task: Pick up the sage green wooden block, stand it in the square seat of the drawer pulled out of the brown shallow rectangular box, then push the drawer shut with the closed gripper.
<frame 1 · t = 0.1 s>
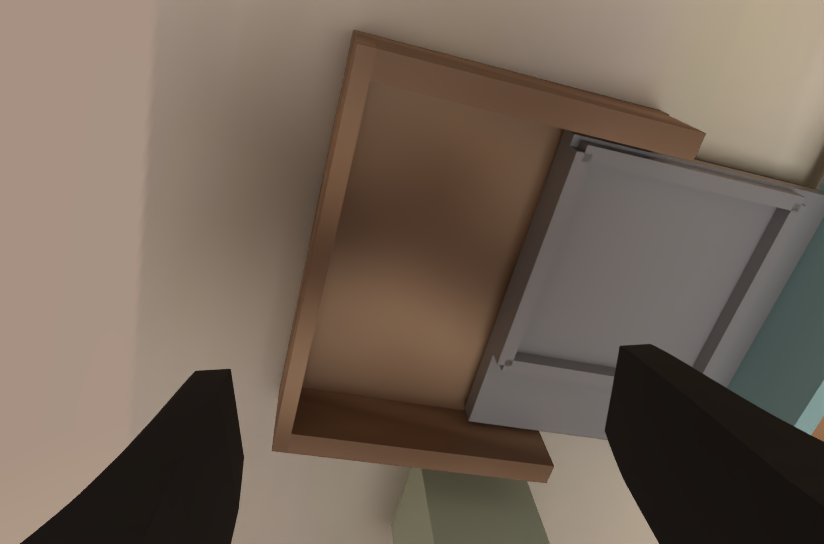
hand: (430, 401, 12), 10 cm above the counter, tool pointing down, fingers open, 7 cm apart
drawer: (683, 339, 21), point 3 cm above the counter, slide at 6.0 cm
block: (454, 492, 27), on the counter
brown shallow rectangular box: (455, 262, 22), on the counter
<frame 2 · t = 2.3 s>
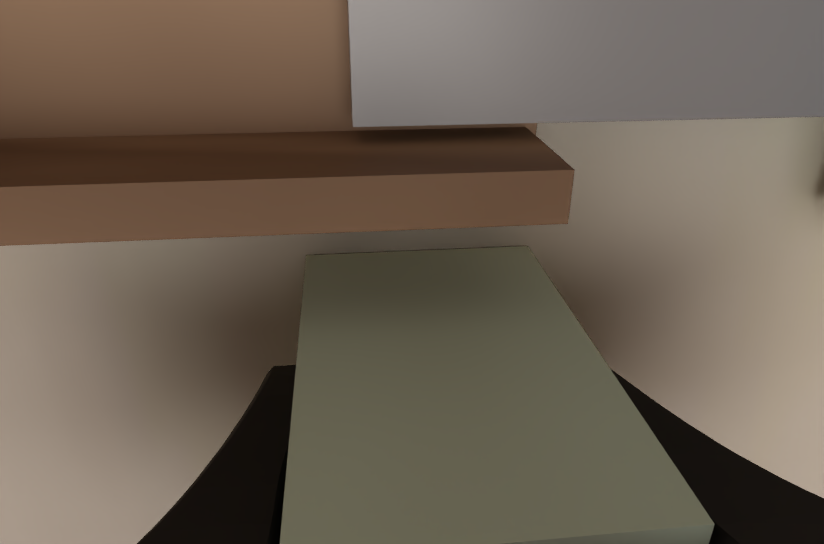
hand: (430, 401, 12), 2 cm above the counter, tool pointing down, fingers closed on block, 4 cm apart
block: (417, 344, 13), on the counter, touching gripper
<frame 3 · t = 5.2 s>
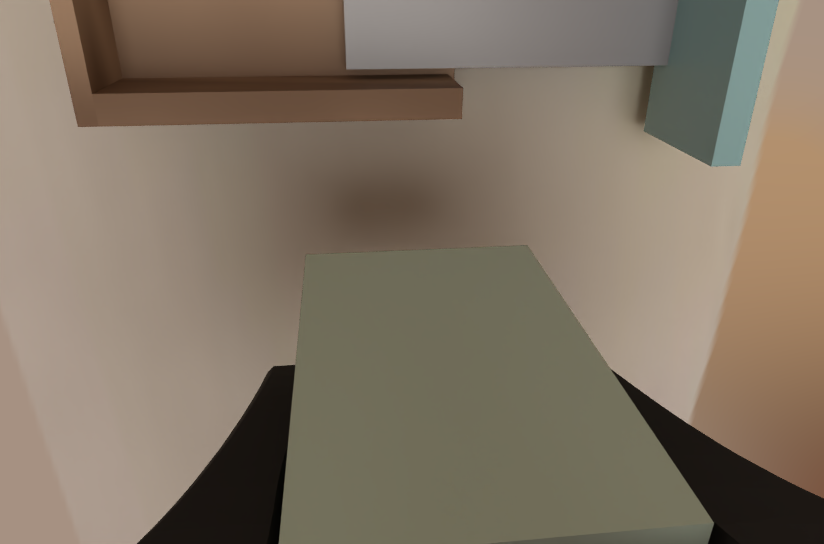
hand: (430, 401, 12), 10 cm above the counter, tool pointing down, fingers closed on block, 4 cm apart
block: (417, 343, 13), point 8 cm above the counter, touching gripper
when the fingers open (4 cm above the counter, at t = 8.3 s): block stays where it is, resting on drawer.
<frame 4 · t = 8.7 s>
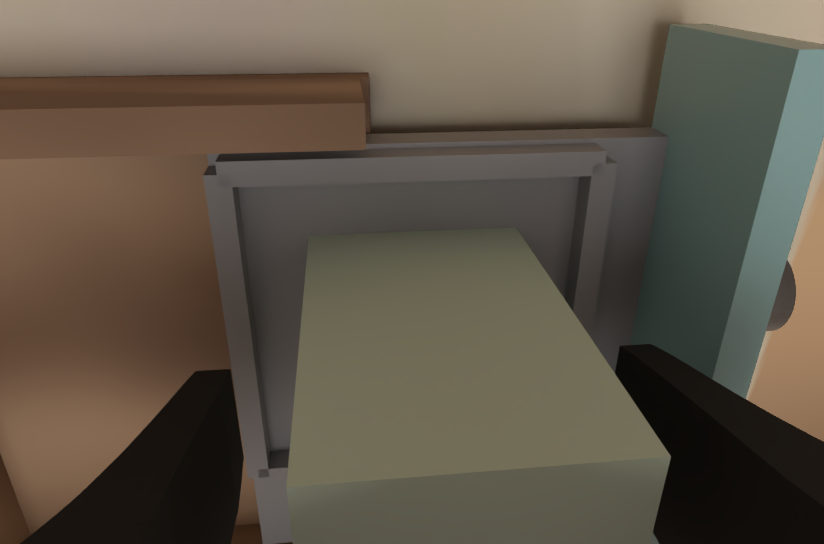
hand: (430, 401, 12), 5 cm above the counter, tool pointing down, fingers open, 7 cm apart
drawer: (492, 395, 14), point 3 cm above the counter, slide at 6.0 cm, touching block
block: (413, 320, 14), point 2 cm above the counter, touching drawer
brown shallow rectangular box: (174, 345, 16), on the counter
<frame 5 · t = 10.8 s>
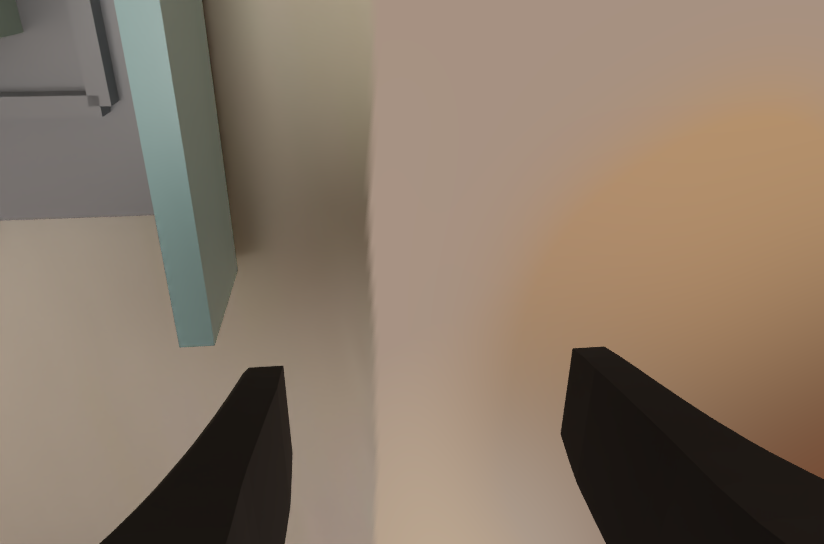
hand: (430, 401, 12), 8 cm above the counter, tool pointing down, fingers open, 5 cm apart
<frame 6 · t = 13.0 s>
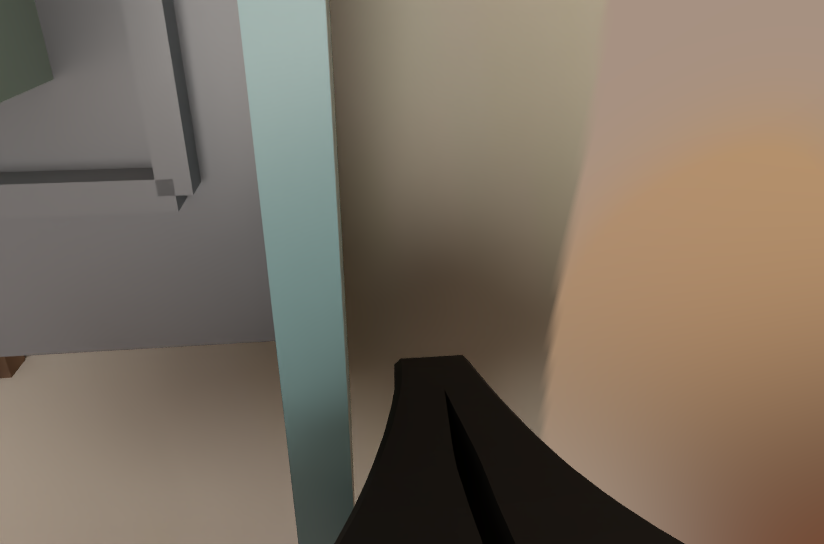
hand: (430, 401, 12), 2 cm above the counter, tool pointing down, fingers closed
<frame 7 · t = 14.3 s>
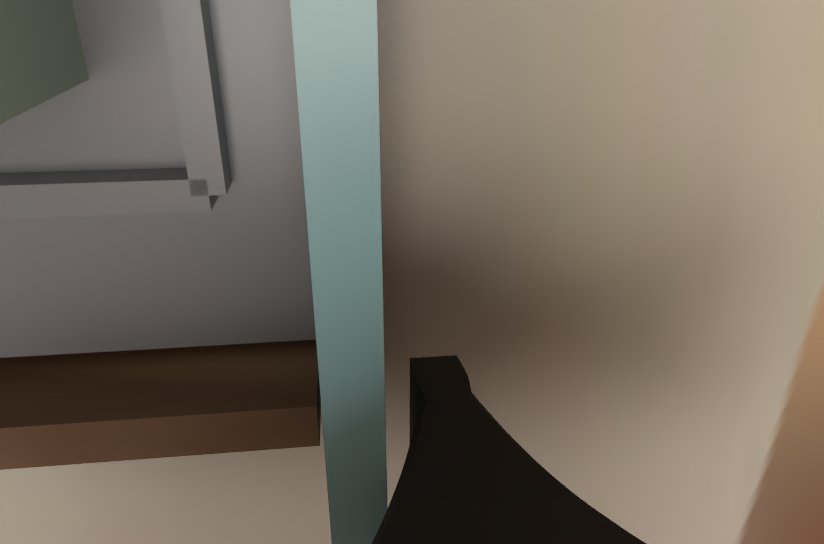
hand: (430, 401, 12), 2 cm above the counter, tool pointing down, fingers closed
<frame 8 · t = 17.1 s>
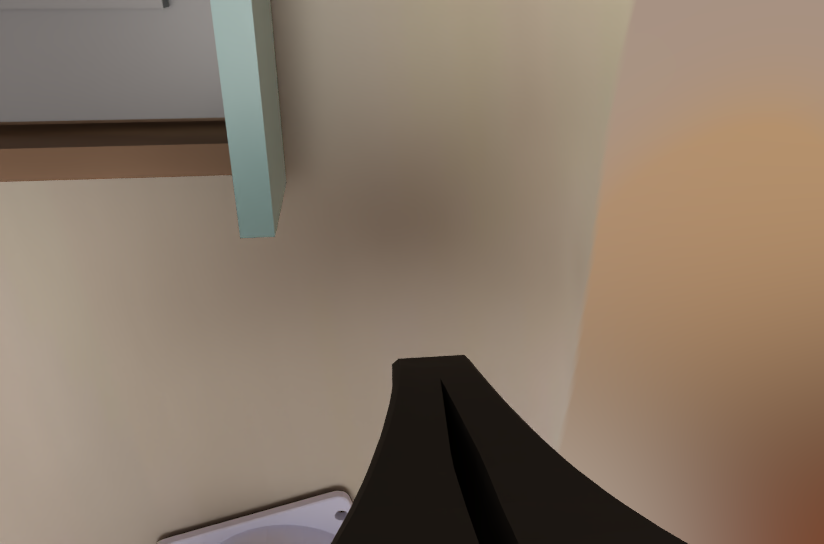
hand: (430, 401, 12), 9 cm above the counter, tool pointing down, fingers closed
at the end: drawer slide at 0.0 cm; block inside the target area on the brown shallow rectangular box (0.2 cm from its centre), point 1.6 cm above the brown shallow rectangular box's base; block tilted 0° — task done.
